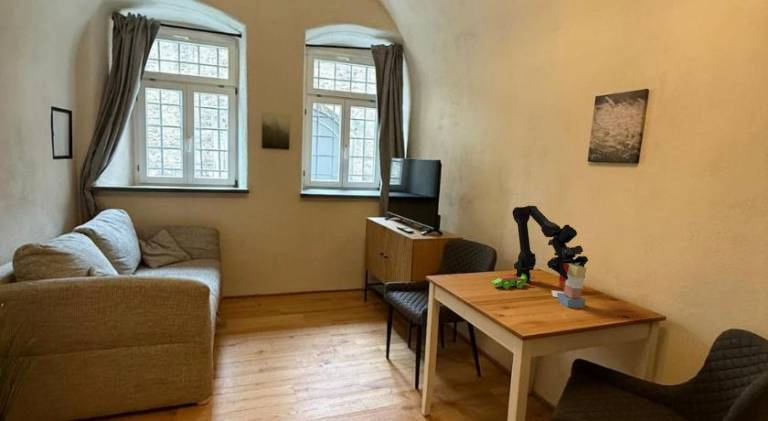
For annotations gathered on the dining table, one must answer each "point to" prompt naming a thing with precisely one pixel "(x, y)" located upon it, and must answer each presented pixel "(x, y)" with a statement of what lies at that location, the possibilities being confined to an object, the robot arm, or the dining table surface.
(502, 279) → the green bumpy elongated piece
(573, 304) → the base brick
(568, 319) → the dining table surface
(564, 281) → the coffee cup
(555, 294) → the page
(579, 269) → the brick column
